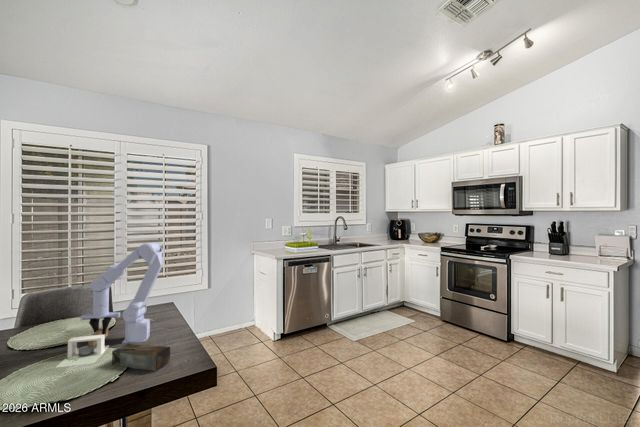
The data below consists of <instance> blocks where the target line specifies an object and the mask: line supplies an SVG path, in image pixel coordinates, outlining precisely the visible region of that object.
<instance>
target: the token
mask: <svg viewBox="0 0 640 427" xmlns="http://www.w3.org/2000/svg"><path fill="white" fill-rule="evenodd" d="M78 348H79V356H80V357H84V356H89V355H92V354H93V353H94V345H88V344H87V345H84V346H81V347H78Z"/></svg>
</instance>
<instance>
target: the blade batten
mask: <svg viewBox="0 0 640 427" xmlns="http://www.w3.org/2000/svg"><path fill="white" fill-rule="evenodd" d="M102 330H103V327H102V326H99V329H98V330H97V331H96V332H95V333H94V332H93V333H92V334H91V335H90V336H92V335H102ZM107 336H109V326H108V327H107V331H106V334H105V338H107ZM88 345H94V348H95V347H96V346H97V340H94V341H87V346H88Z"/></svg>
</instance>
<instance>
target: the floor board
mask: <svg viewBox="0 0 640 427" xmlns="http://www.w3.org/2000/svg"><path fill="white" fill-rule="evenodd" d="M110 346H111V345H109V344H108V345H107V344H106V345H104V351H103V352H102V353H101V354H98V355H97V346H96V347H95V348H94V353H93V354H92V355H89V356H84V357H80V356H79V348H80V347H77V353H76V354H75V355H74V356H78V358H79V359H78V358H77V359H78V360H77V361H74V360H70V361H69V360H67V359H66V358H67V357H68V356H66V358H64V359H63V360H62V361H61V362H60V363H58V364H57V365H56V367H54V368H63V367H65V368H66V367H74V366H81V365H82V366H83V365H89V364H91V365H92V364H95V363H96V362H97V361H98V360H99V359H100V357H101V356H102V355H103V354H104V353H105V352H106V350H107V349H108V348H109V347H110ZM70 358H71V357H70ZM72 361H73V362H72Z"/></svg>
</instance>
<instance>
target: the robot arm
mask: <svg viewBox="0 0 640 427" xmlns="http://www.w3.org/2000/svg"><path fill="white" fill-rule="evenodd" d="M163 251H164V250H163V248H162V246H161V244H160V243H158V242H156V241H152V242H150V243H149V242H148V243H142V244H141V245H140V246H138V247H137V248H135V249H133V251H132V252H131V253H129V254H128V255H127V256H126V257H125V258H124V259H123V260H122V261H121V262H120V263H118V264H113V265H110V266H108V267H107V270H106V271H104V272H103V273H100V274H99V277H95V278H93V279H92V280H91V282H90V285H89V286H90V289H91V290H92V291H93V292H92V298H93V299H92V313H86V314H81V316H80V322H81V321H87V320H89V321H88V324H89V325H90V326H91V328H92V330H93V333H95V332H96V331H97V330H98V329H99V328H100V326H99V325H100V320H101V327H103V330H102V335H104V334H106V331H107V327H108V328H109V324H110V323H111V321H112V319H113V318H116V319H118V318H120V317H121V316H122V319H123V320H124V322H125V323H124V326H125V328H124V332H125V333H124V334H125V335H124V340H122V342H121V344H131V343H139V342H146V341H147V340H148V339H149V337H150V335H151V334H150V332H151V320H150V319H149V318H145V314H146V313H147V309H148V308H147V305H148V304H149V303H148V298H149V296H150V294H151V292H152V290H153V287H154V285H155V283H156V281H157V279H158V277H159V274H160V272H161V269H162V268H163V265H164V260H163V259H164V258H163ZM139 259H143V261H145V262H146V263H147V266H148V267H147V270H146V272H145V273H144V276H143V278H142V279H141V283H140V284H139V287H138V289H137V291H136V293H135V295H134V298H133V299H132V301H130V302H129V304H128V306H127V308H125V309H124V310H123V312H122V315H121V312H119V311H118V312H113V311H112V312H111V311H109V310H110V308H109V307H110V288H111V287H112V285H113V284H114V283H115V281H117V280H119V278H120V277H121V276H123V275H124V273H125V270H126V269H127V268H128V267H130V266H131V265H132V264H134V263H135V262H137V260H139Z"/></svg>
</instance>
